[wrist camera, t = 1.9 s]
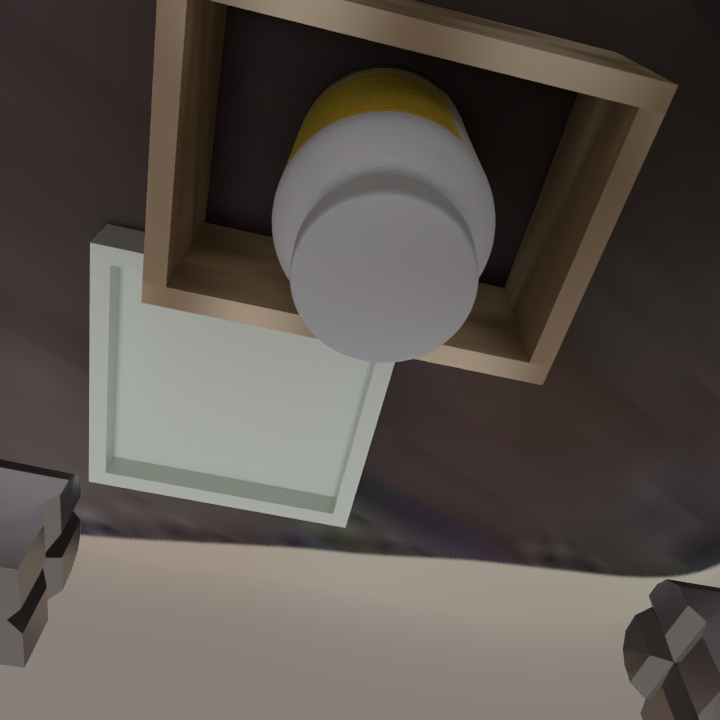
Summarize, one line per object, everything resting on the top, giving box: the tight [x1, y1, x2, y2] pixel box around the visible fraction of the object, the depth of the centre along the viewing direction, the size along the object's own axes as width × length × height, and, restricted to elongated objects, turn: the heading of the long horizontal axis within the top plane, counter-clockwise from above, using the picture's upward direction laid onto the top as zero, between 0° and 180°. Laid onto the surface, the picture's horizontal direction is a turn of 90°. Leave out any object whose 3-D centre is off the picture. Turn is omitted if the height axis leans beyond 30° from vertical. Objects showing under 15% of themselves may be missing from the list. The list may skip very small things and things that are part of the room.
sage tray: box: [89, 224, 395, 528], centre depth 31 cm, size 13×13×2 cm
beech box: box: [141, 0, 678, 385], centre depth 24 cm, size 15×11×6 cm
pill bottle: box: [272, 65, 495, 363], centre depth 21 cm, size 6×6×12 cm
